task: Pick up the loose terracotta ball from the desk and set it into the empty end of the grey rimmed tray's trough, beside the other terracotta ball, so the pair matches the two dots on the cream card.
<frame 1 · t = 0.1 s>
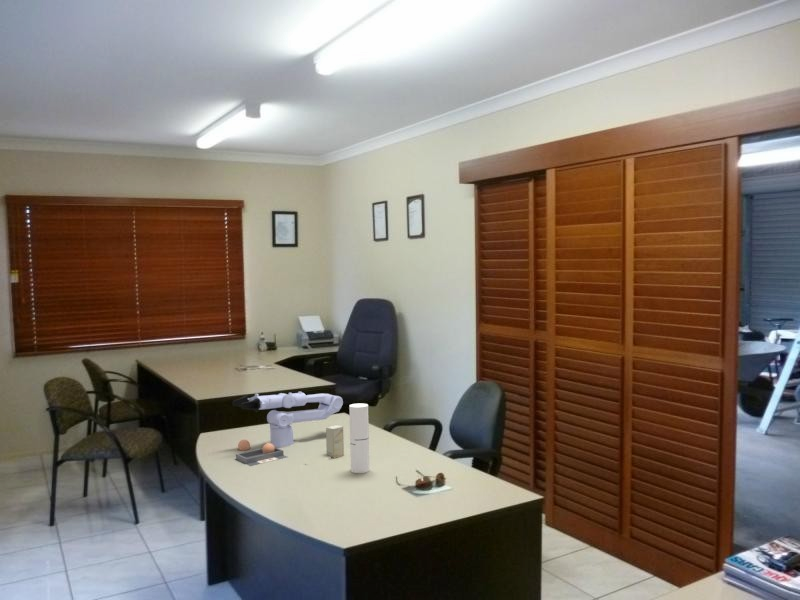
hand: (237, 404, 264), 22 cm above the table, tool horizontal, fingers open, 7 cm apart
terracotta ball: (244, 451, 272), on the table
resting terracotta ball: (268, 455, 262), point 1 cm above the table, touching grey rimmed tray
skincare box: (335, 456, 263), on the table
cylindrical container: (360, 470, 244), on the table
grey rimmed tray: (261, 460, 258), on the table
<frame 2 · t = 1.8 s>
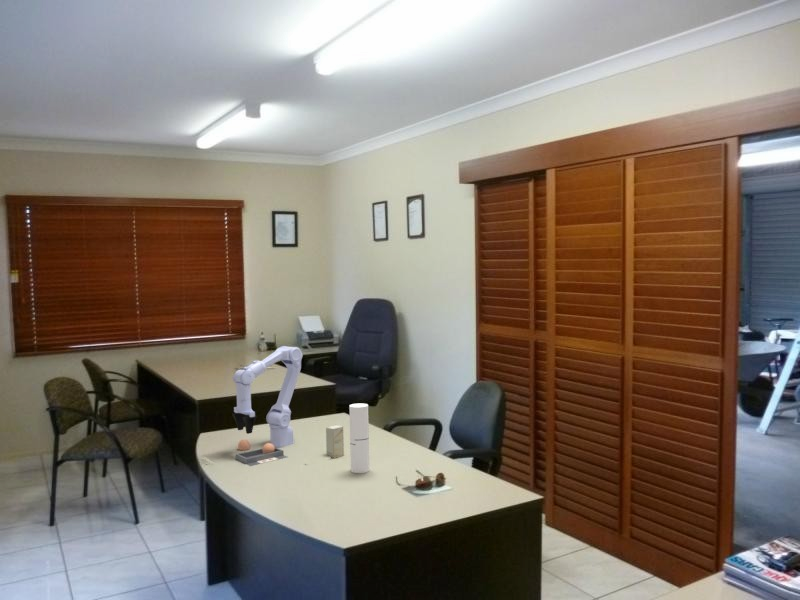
hand: (244, 431, 264), 10 cm above the table, tool pointing down, fingers open, 7 cm apart
nothing on the table moved.
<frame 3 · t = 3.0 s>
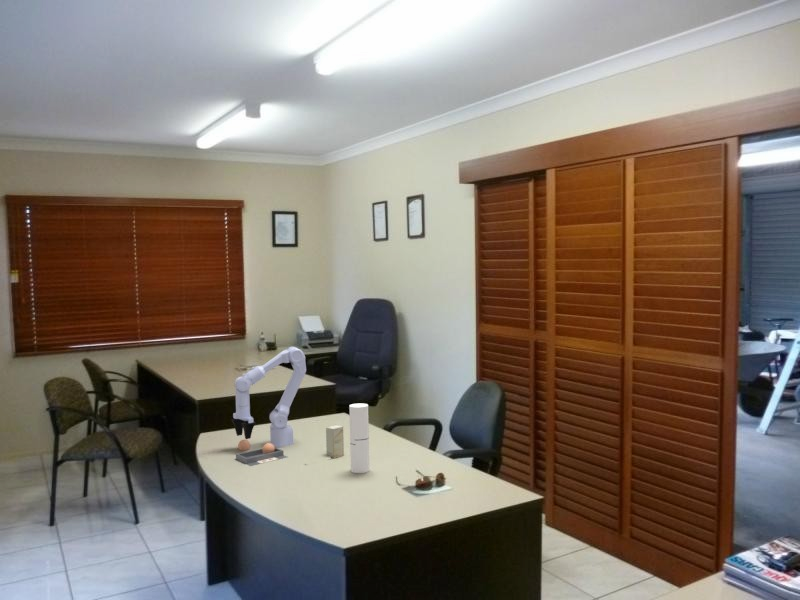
hand: (243, 436, 272), 6 cm above the table, tool pointing down, fingers open, 7 cm apart
nothing on the table moved.
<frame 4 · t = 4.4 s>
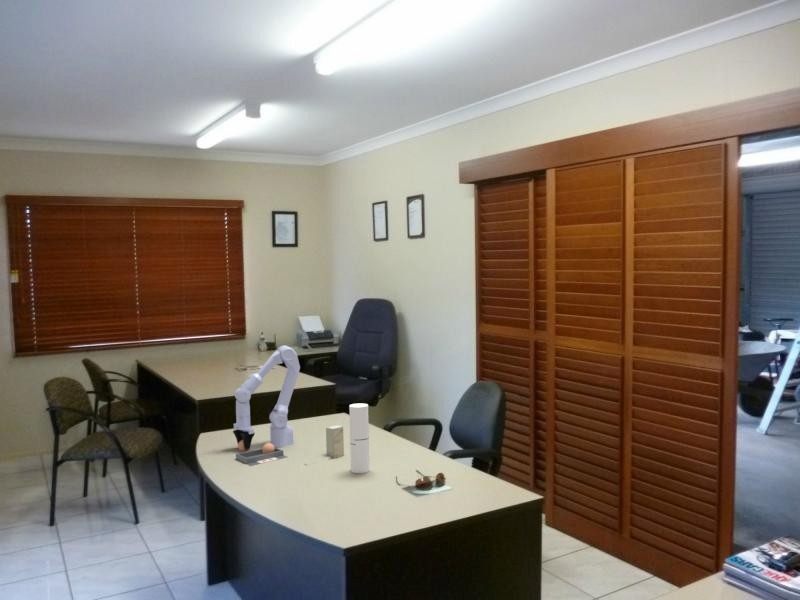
hand: (244, 447, 272), 2 cm above the table, tool pointing down, fingers closed on terracotta ball, 5 cm apart
terracotta ball: (244, 451, 272), on the table, touching gripper
everything else where it was.
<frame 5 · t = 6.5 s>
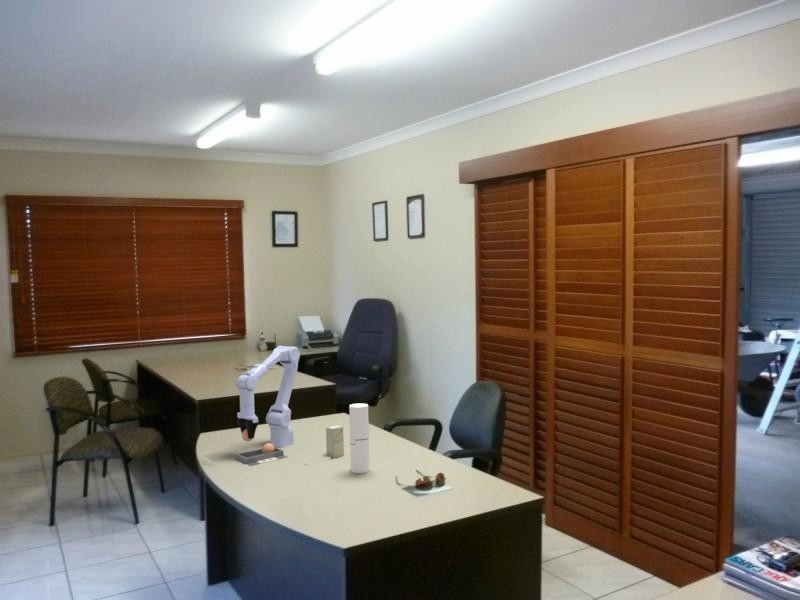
hand: (248, 437, 263), 8 cm above the table, tool pointing down, fingers closed on terracotta ball, 5 cm apart
terracotta ball: (248, 441, 263), point 7 cm above the table, touching gripper
everything else where it was.
when the fingers open (4 cm above the table, at t = 8.8 s): terracotta ball drops 1 cm, resting on grey rimmed tray.
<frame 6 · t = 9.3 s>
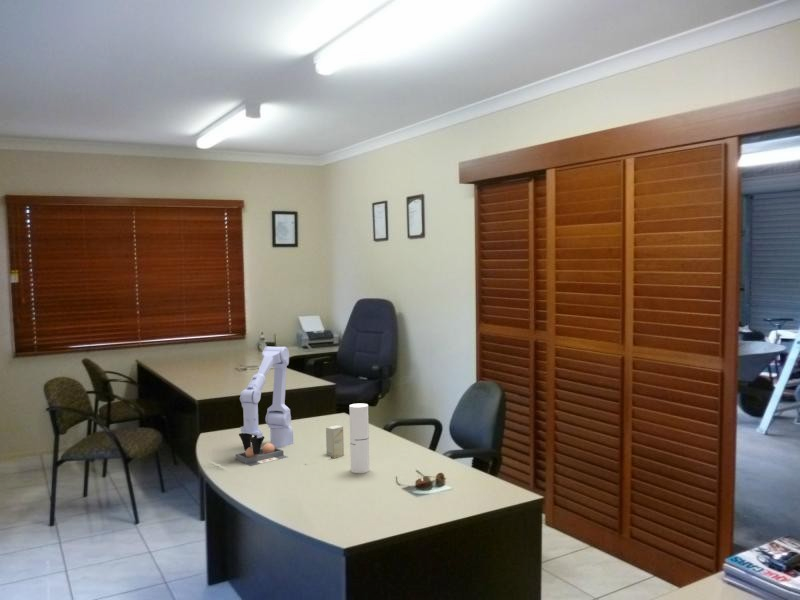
hand: (251, 452, 257), 4 cm above the table, tool pointing down, fingers open, 7 cm apart
terracotta ball: (251, 459, 257), point 1 cm above the table, touching grey rimmed tray
everything else where it was.
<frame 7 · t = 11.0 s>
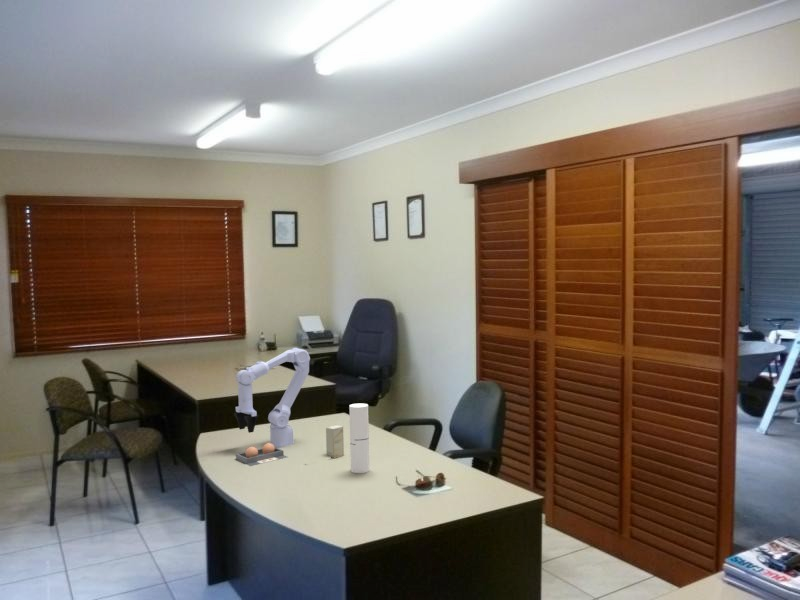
hand: (246, 430, 270), 9 cm above the table, tool pointing down, fingers open, 7 cm apart
nothing on the table moved.
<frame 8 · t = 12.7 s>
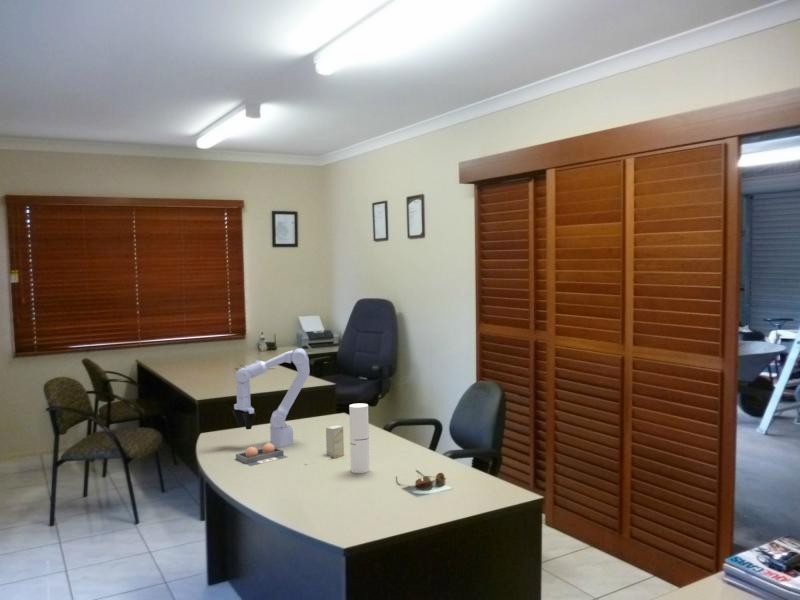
hand: (244, 427, 275), 9 cm above the table, tool pointing down, fingers open, 7 cm apart
nothing on the table moved.
at the end: terracotta ball 0.1 cm from the target spot on the grey rimmed tray, point 1.0 cm above the grey rimmed tray's base; terracotta ball 7.6 cm from the resting terracotta ball (horizontally); the gripper is holding nothing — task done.
